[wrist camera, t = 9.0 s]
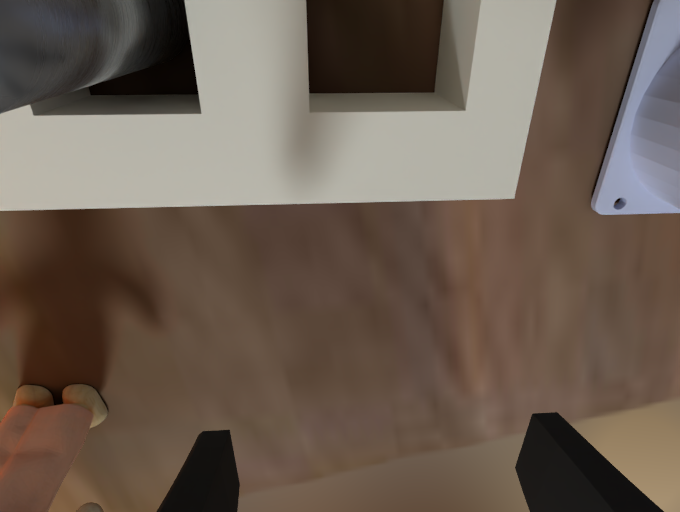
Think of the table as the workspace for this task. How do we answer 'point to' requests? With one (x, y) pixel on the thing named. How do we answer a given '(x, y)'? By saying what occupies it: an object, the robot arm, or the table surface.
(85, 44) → the peg
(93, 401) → the grandmother figurine
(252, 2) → the hole block
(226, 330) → the table surface
